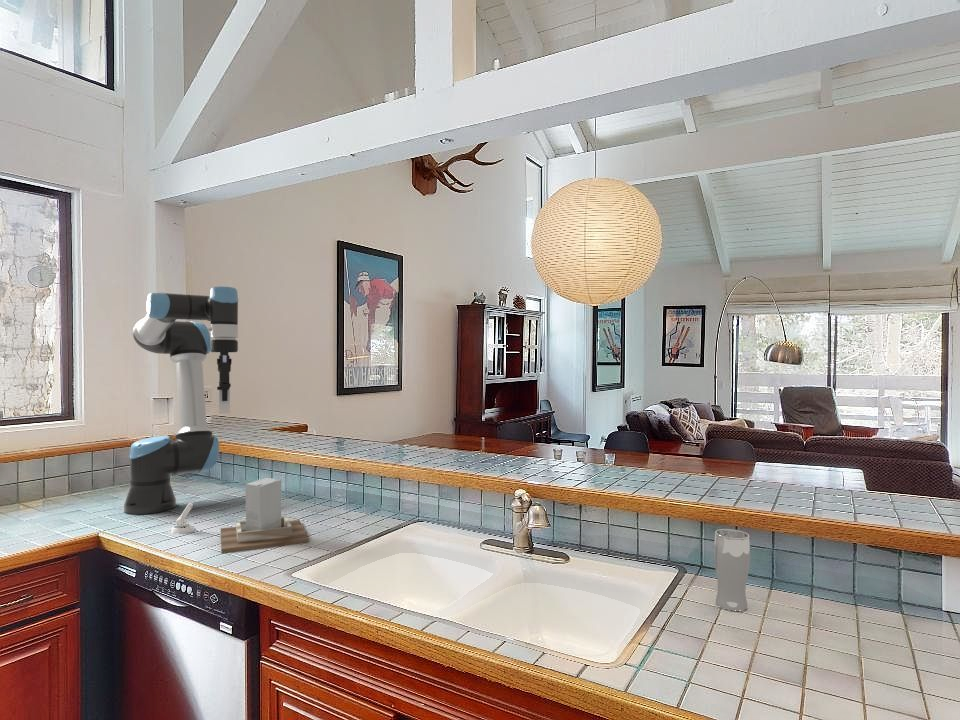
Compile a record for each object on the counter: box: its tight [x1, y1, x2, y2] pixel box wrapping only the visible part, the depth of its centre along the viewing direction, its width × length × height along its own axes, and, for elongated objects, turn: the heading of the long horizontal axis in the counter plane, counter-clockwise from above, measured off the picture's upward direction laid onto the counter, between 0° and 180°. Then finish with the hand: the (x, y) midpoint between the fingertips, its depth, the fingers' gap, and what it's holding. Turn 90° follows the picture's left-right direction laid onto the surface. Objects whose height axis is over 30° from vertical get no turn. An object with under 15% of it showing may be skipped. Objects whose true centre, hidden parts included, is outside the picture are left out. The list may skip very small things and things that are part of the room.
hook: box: [170, 502, 196, 534], centre depth 173 cm, size 6×10×6 cm
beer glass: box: [713, 528, 751, 612], centre depth 123 cm, size 7×7×15 cm
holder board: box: [220, 515, 310, 554], centre depth 167 cm, size 20×22×4 cm
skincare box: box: [245, 477, 282, 531], centre depth 167 cm, size 8×6×15 cm
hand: (224, 410), depth 176 cm, fingers open, 13 cm apart
